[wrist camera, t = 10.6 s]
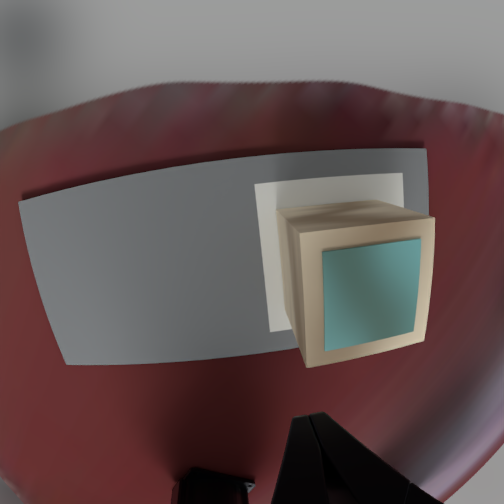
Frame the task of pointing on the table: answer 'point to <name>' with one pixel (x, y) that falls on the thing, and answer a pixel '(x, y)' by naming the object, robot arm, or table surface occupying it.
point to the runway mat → (192, 251)
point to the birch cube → (355, 277)
